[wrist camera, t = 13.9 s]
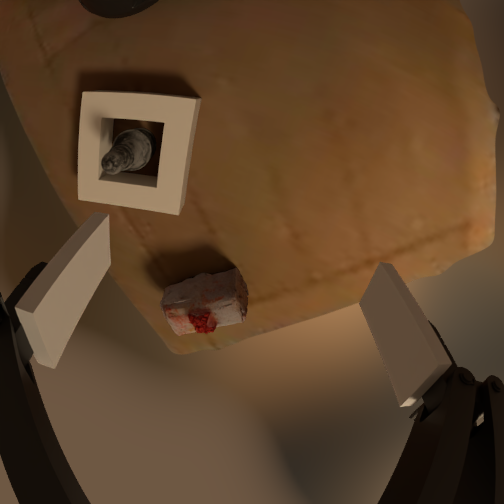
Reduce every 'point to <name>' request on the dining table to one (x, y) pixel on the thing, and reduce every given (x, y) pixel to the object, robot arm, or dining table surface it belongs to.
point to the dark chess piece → (129, 151)
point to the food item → (205, 302)
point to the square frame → (171, 157)
